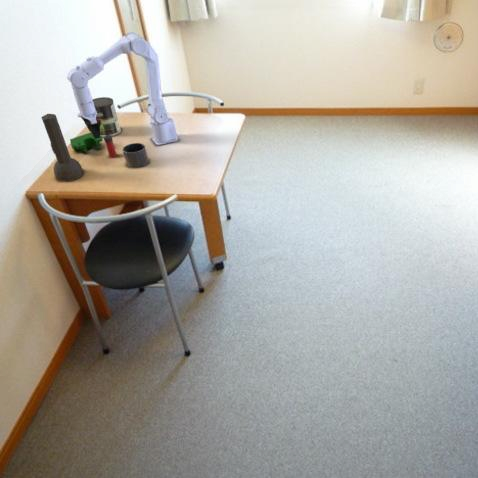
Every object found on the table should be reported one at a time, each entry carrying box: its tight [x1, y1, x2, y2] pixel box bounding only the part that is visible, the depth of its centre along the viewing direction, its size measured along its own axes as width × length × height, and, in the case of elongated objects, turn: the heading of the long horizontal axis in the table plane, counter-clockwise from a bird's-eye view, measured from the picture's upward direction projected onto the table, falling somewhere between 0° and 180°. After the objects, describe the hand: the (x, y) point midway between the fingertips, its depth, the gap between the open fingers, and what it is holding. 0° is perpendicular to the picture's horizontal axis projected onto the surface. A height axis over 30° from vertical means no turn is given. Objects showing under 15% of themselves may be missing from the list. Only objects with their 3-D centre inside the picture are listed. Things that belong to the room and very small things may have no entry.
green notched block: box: [69, 131, 104, 155], centre depth 203 cm, size 12×6×9 cm, turn 130°
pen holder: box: [122, 142, 149, 169], centre depth 194 cm, size 8×8×6 cm
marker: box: [103, 135, 118, 158], centre depth 198 cm, size 3×3×8 cm
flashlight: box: [41, 113, 84, 182], centre depth 181 cm, size 10×25×10 cm
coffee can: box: [92, 96, 122, 138], centre depth 214 cm, size 10×10×14 cm
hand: (94, 134), depth 194 cm, fingers open, 7 cm apart
